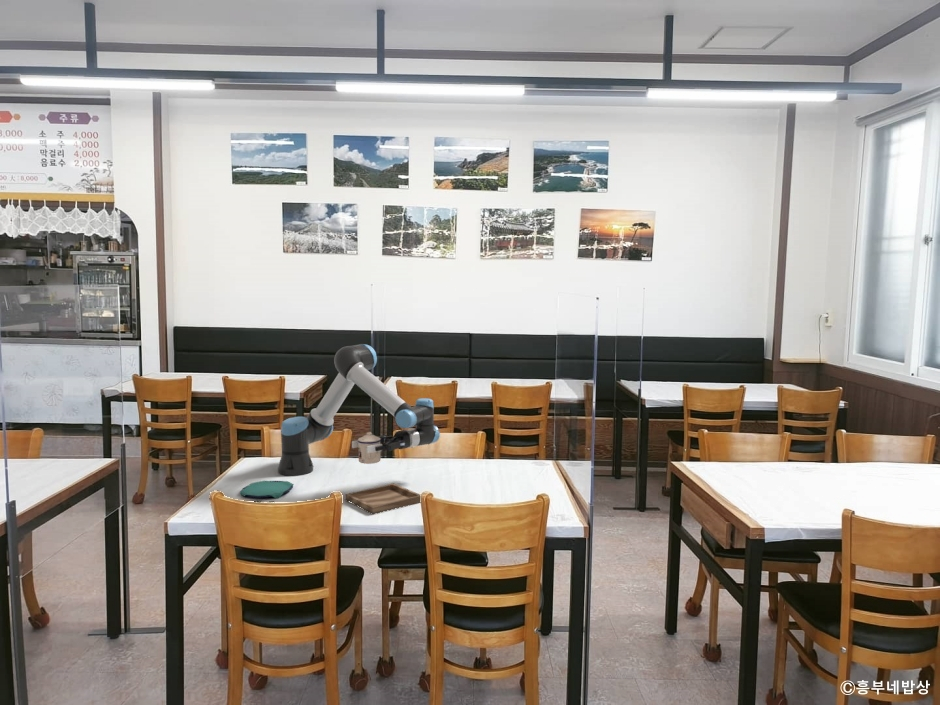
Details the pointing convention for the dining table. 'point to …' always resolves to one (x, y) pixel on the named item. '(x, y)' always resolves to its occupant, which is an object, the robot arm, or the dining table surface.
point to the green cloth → (266, 489)
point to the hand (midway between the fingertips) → (359, 447)
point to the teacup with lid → (362, 449)
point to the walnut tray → (383, 498)
